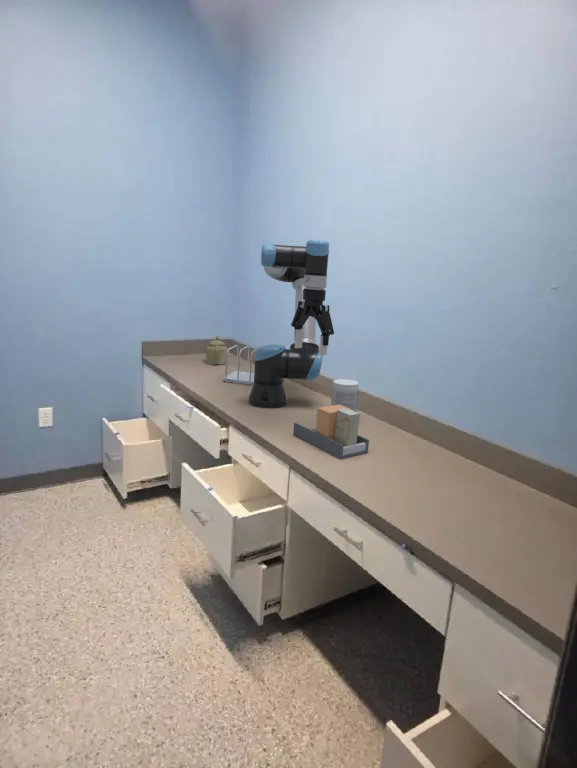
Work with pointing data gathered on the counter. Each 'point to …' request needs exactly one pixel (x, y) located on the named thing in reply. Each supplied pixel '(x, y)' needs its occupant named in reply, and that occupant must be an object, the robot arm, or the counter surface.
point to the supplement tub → (345, 393)
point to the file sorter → (240, 375)
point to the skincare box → (346, 427)
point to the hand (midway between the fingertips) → (310, 351)
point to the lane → (331, 443)
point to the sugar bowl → (216, 352)
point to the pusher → (327, 420)
